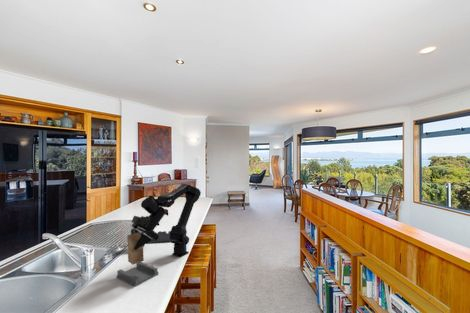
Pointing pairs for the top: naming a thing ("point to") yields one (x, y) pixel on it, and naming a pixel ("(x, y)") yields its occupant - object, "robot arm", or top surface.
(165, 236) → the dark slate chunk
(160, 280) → the top surface
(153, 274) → the bottom track
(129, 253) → the walnut block
